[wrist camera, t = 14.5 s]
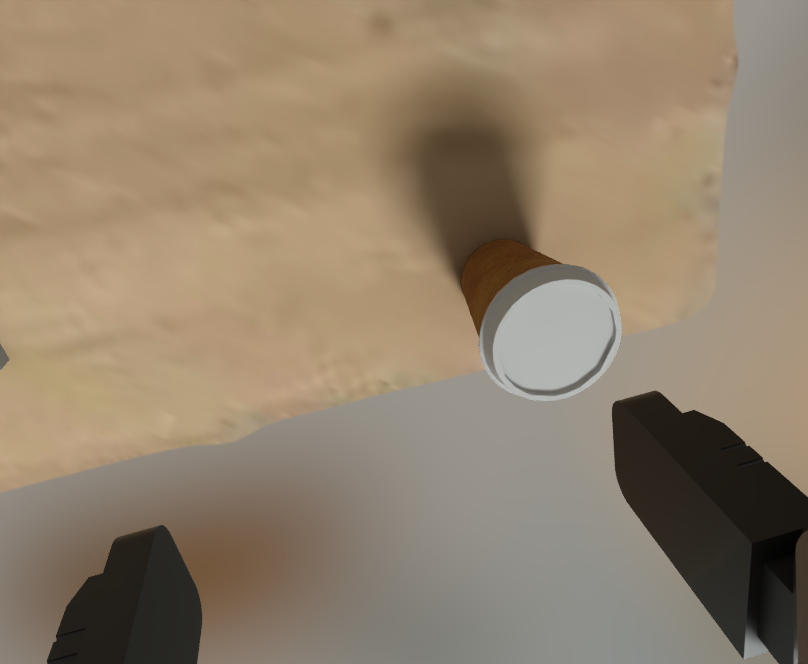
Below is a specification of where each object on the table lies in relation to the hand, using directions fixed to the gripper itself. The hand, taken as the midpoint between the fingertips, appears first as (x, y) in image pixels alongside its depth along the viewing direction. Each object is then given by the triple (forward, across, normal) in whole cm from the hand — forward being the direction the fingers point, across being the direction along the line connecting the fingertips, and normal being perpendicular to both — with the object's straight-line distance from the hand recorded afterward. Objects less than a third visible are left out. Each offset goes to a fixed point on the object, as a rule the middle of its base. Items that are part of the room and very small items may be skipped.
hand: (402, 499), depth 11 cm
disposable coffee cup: (+37, -12, +13) cm, 41 cm away
